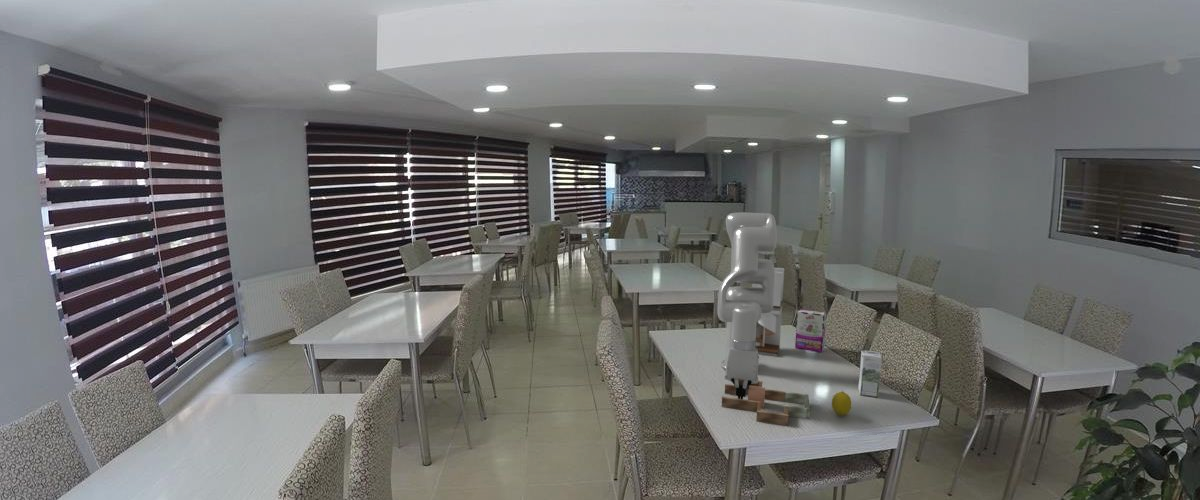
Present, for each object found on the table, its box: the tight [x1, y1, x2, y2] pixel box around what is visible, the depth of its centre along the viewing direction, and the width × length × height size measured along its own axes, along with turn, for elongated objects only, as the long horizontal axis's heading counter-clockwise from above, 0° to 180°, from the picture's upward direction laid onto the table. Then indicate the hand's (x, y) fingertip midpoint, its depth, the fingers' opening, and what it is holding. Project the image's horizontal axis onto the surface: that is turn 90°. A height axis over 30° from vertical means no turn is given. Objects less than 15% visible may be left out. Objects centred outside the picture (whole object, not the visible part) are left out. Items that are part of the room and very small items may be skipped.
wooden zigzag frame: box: [721, 379, 811, 426], centre depth 178 cm, size 26×26×3 cm
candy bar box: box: [794, 309, 827, 354], centre depth 234 cm, size 11×5×16 cm, turn 58°
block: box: [747, 386, 766, 409], centre depth 179 cm, size 5×5×5 cm
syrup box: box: [857, 349, 883, 398], centre depth 188 cm, size 6×6×14 cm
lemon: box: [831, 391, 852, 417], centre depth 170 cm, size 6×6×8 cm
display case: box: [751, 267, 785, 358], centre depth 229 cm, size 11×11×35 cm
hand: (740, 398), depth 181 cm, fingers closed
